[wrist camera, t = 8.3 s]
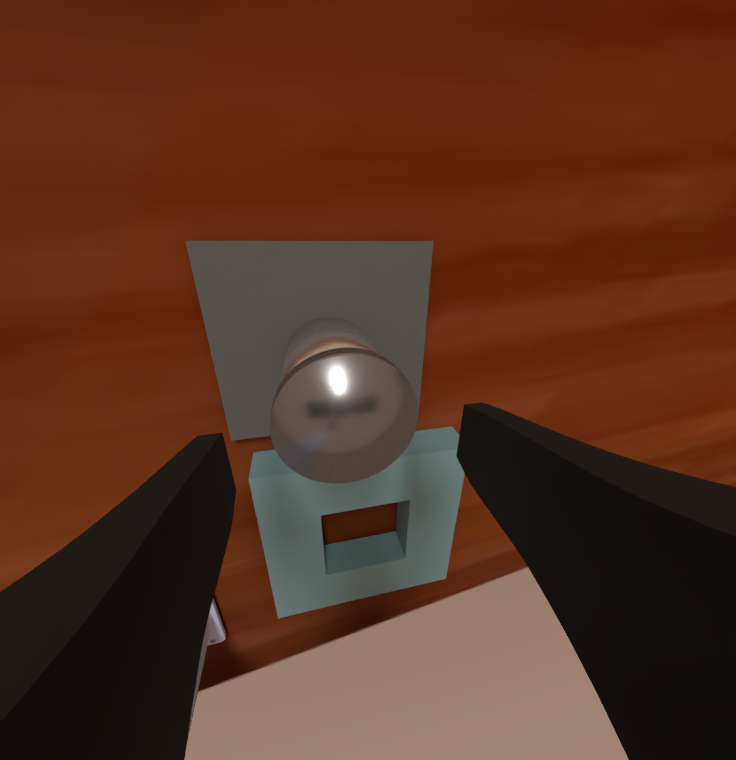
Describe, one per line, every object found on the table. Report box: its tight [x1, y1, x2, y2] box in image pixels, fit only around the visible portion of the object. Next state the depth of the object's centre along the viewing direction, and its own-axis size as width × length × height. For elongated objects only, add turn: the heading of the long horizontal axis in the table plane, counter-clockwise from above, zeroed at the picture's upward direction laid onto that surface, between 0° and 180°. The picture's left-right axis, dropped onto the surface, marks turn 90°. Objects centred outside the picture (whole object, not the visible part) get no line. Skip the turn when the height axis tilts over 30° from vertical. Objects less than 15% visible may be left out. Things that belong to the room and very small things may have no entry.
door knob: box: [270, 317, 418, 484], centre depth 14 cm, size 6×6×7 cm
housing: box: [249, 427, 464, 618], centre depth 23 cm, size 14×14×2 cm
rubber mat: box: [186, 241, 433, 441], centre depth 17 cm, size 12×11×1 cm
